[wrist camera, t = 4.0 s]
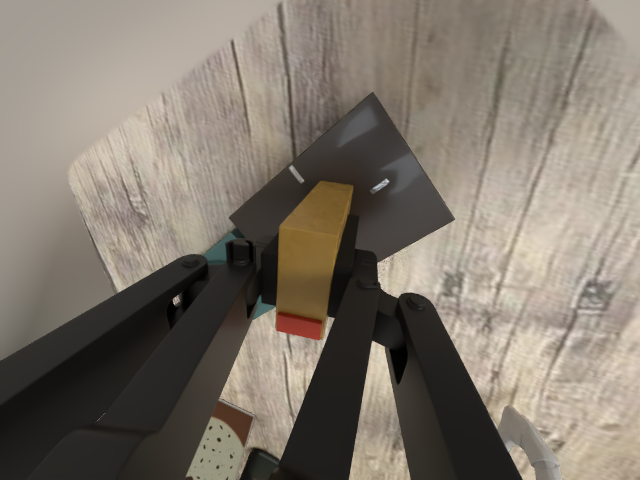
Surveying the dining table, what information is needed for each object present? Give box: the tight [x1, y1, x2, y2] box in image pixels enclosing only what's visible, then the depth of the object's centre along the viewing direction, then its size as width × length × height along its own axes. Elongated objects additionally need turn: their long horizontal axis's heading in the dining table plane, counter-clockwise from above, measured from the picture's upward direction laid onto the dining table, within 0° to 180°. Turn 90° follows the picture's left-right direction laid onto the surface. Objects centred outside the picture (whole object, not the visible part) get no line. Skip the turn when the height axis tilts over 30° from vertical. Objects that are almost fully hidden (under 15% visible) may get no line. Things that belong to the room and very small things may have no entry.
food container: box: [185, 398, 255, 480], centre depth 33 cm, size 12×6×10 cm, turn 66°
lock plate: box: [229, 92, 455, 263], centre depth 20 cm, size 14×10×3 cm
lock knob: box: [275, 181, 353, 340], centre depth 15 cm, size 6×2×9 cm, turn 174°
